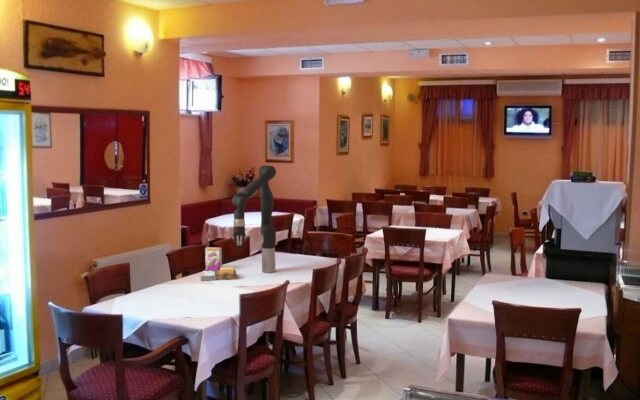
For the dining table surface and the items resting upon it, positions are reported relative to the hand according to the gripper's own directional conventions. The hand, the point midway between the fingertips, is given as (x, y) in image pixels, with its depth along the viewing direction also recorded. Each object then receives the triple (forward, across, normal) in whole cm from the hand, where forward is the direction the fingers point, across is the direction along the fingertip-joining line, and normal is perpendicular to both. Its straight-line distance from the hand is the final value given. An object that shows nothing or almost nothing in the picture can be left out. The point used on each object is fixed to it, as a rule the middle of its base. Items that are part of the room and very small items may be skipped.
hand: (239, 250), depth 426 cm
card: (+14, +8, 0) cm, 17 cm away
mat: (+18, +21, 0) cm, 28 cm away
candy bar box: (+19, +16, -26) cm, 36 cm away
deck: (+18, +9, 0) cm, 21 cm away
